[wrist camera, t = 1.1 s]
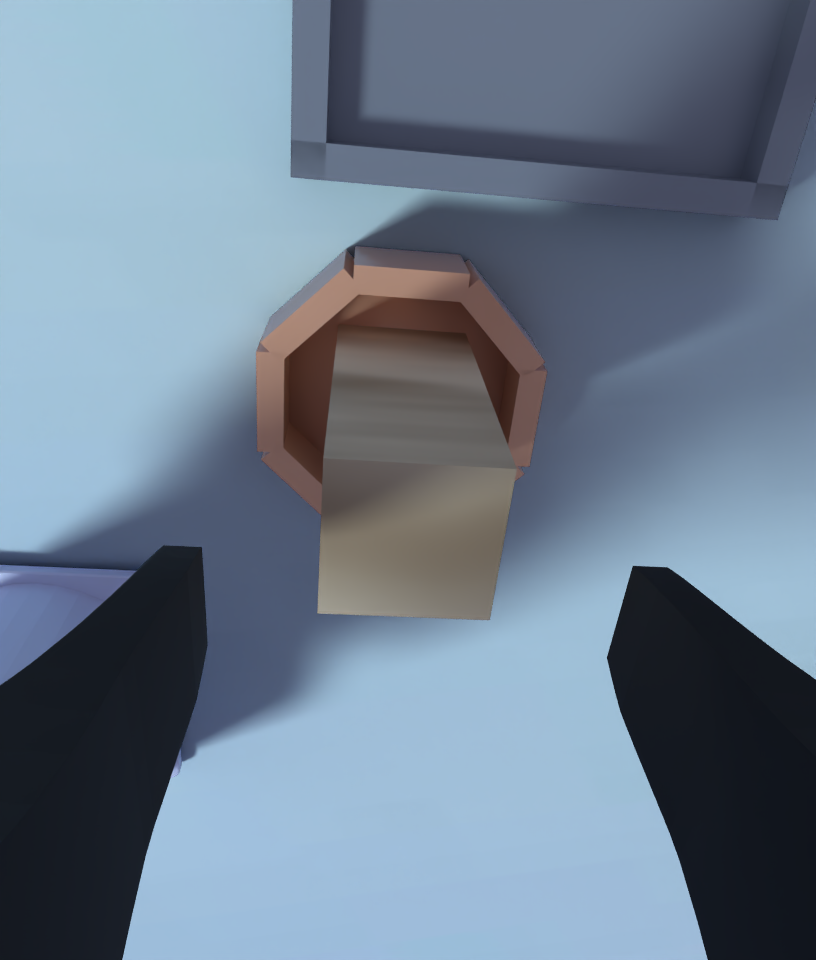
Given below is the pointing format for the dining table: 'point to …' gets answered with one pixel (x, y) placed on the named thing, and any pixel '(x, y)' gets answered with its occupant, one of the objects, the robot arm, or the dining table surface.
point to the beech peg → (411, 479)
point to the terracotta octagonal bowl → (392, 304)
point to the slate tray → (558, 98)
